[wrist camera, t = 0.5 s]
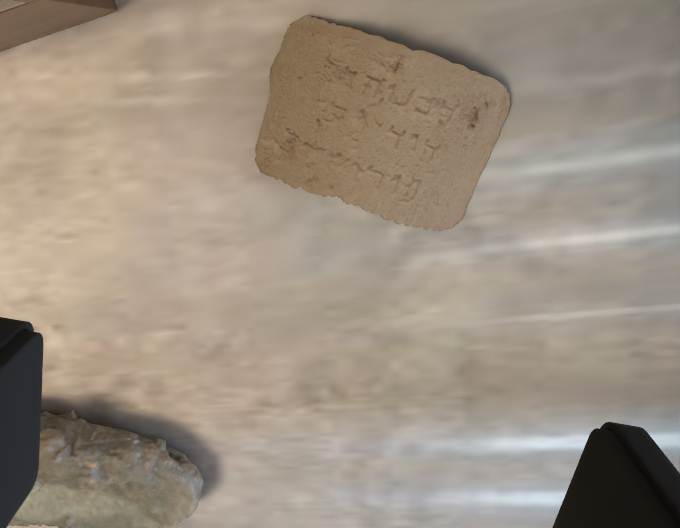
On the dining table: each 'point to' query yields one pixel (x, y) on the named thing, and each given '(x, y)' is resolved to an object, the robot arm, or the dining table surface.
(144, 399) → the dining table surface
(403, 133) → the clay tablet
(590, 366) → the dining table surface
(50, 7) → the step shelf
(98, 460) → the elongated rock
